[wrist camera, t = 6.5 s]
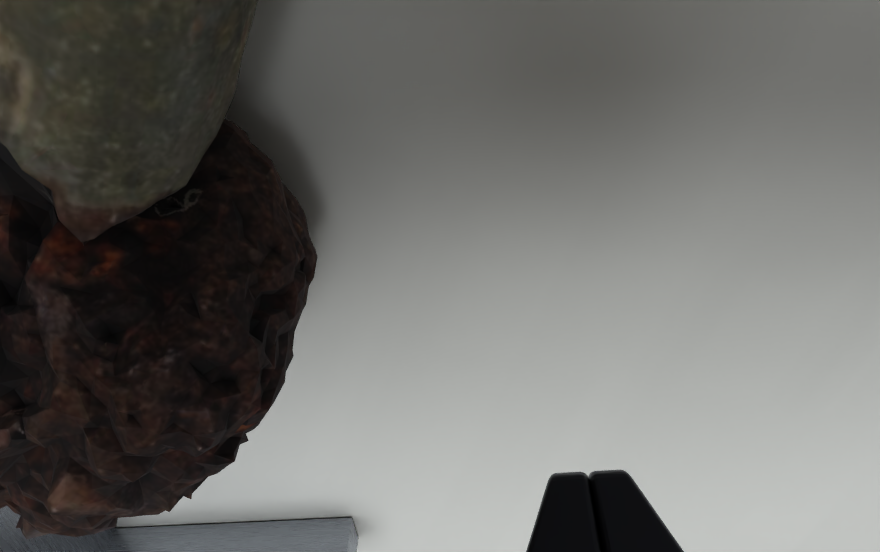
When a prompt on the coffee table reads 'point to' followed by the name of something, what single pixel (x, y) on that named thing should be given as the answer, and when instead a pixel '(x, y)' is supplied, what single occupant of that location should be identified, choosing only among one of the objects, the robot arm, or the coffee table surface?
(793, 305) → the coffee table surface
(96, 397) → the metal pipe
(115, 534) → the grey u-shaped bracket
